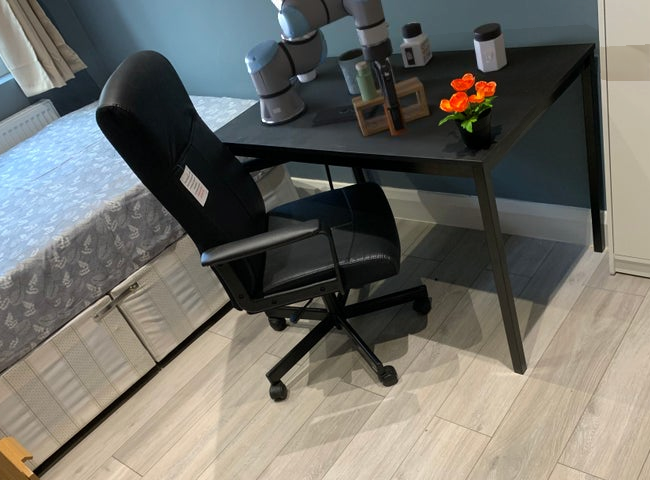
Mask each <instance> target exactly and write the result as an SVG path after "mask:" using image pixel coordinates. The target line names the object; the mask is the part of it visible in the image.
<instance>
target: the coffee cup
mask: <svg viewBox="0 0 650 480" xmlns="http://www.w3.org/2000/svg"><path fill="white" fill-rule="evenodd" d="M297 77H298V81H300V82H301V83H308V82H311V81H313V80H315V79H316V77H317V72H316V68H314V69H313V68H312V69H310V70H308V71H306V72H304V73H302V74H299V75H297Z"/></svg>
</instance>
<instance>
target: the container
mask: <svg viewBox="0 0 650 480" xmlns="http://www.w3.org/2000/svg"><path fill="white" fill-rule="evenodd" d="M401 34H402V37H403V42H402V43H401V44H400V45H399V49H400V53H401V57H402V62H403V66H404V68H413V67H424V66H426V64H428V62H429V61H430V60H431V59H432V58H433V52H432V49H431V48H432V47H431V44H430V43H431V42H430V39H429V35H428V34H423V29H422V25H421V23H420V22H418V21H412V22H408V23H406V24H404V25H403V26H402V27H401Z"/></svg>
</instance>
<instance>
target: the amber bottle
mask: <svg viewBox="0 0 650 480" xmlns="http://www.w3.org/2000/svg"><path fill="white" fill-rule="evenodd" d="M383 96H384V98H385V101H386V102H384V103H382V106H383V109H384V113H385V114H386V117H387V121H388V125H389V128H388V130H389V132H390V135H391V136H400V135H403V134H405V133H406V132H407V131H408V128H407V122H406V123H405V119H404V115H403V111H402V109H403V107H402V104H401V100H400V99H399V98H398V101H399V104H400V107H399V109H400V113H401V117H402V121H403V125H404V129H401V130H398V131H394V127H393V123H392V119H391V116H390V112H389V110H387V108H388V107H389V105H388V101H387V98H386V95H385V91H384V90H383ZM385 114H384V115H385Z"/></svg>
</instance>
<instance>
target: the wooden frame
mask: <svg viewBox="0 0 650 480" xmlns="http://www.w3.org/2000/svg"><path fill="white" fill-rule="evenodd" d="M394 85H395V89H396V93H397V97H398V99H399V98H402V97H404V96H405V97H406V96H408V95H410V94H414V93H415V95H416V100H417V103H415V104H412V105H409V106H406V107H402V111H403V115H404V119H405V123H406V124H407V123H409V122H412V121H415V120H417V119H421V118H423V117H427V116H430V111H429V106H428V101H427V98H426V93H425V88H424V84H423V83H422V82H421V81H420V79H419V78H418V77H417V76H415V77H411V78H408V79H405V80H403V81H400V82H397V83H395V84H394ZM376 92H377V97H376V98H375V99H373V100H370V101H364V100H363V99H362V95H359V96H356V97H353V98H351V101H352V105H354V108H355V112H356V115H357V118H358V119H357V121H358V125H359V128H360V130H361V132H362V134H363V137H364V138H365V137H367V136H371V135H374V134H376V133H379V132H382V131H385V130H389V125H388V121H387V117H386V114H382V115H379V116H376V117H373V118H370V119H368V120H365V118H363V115H362V112H361V110H364V109H367V108H370V107H372V106H375V105H377V106H378V105H381V104H384V103H385V102H386V101H385V100H384V98H383V96H382V92H381V88H379V89H376Z"/></svg>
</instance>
